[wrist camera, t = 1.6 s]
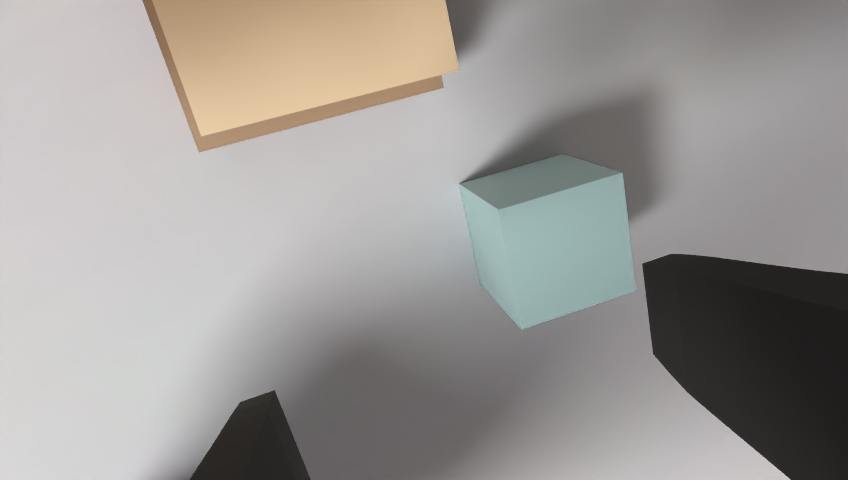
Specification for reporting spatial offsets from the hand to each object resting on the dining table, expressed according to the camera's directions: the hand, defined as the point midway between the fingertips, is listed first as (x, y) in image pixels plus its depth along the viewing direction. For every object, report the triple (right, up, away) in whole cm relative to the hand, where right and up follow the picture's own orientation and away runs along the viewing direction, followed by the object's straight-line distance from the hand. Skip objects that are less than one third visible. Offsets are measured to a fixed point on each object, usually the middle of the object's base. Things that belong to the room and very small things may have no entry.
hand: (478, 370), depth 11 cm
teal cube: (+3, +3, +11) cm, 11 cm away
